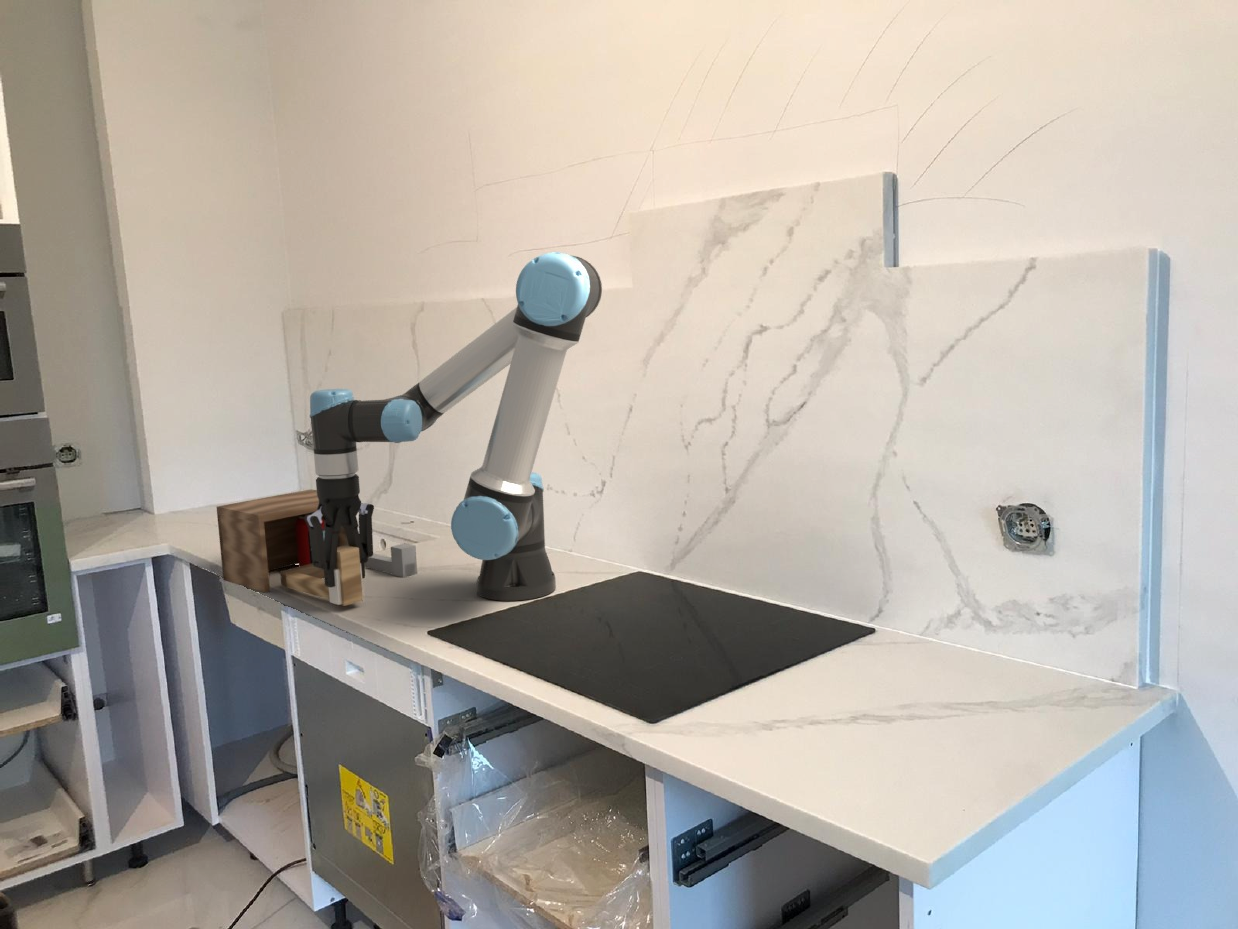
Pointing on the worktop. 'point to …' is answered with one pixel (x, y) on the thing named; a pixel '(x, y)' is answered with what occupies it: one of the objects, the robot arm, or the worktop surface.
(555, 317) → the robot arm
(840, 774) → the worktop surface
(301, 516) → the beverage can
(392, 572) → the grey hooked tool
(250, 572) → the shelf
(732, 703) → the worktop surface
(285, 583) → the crook tool
